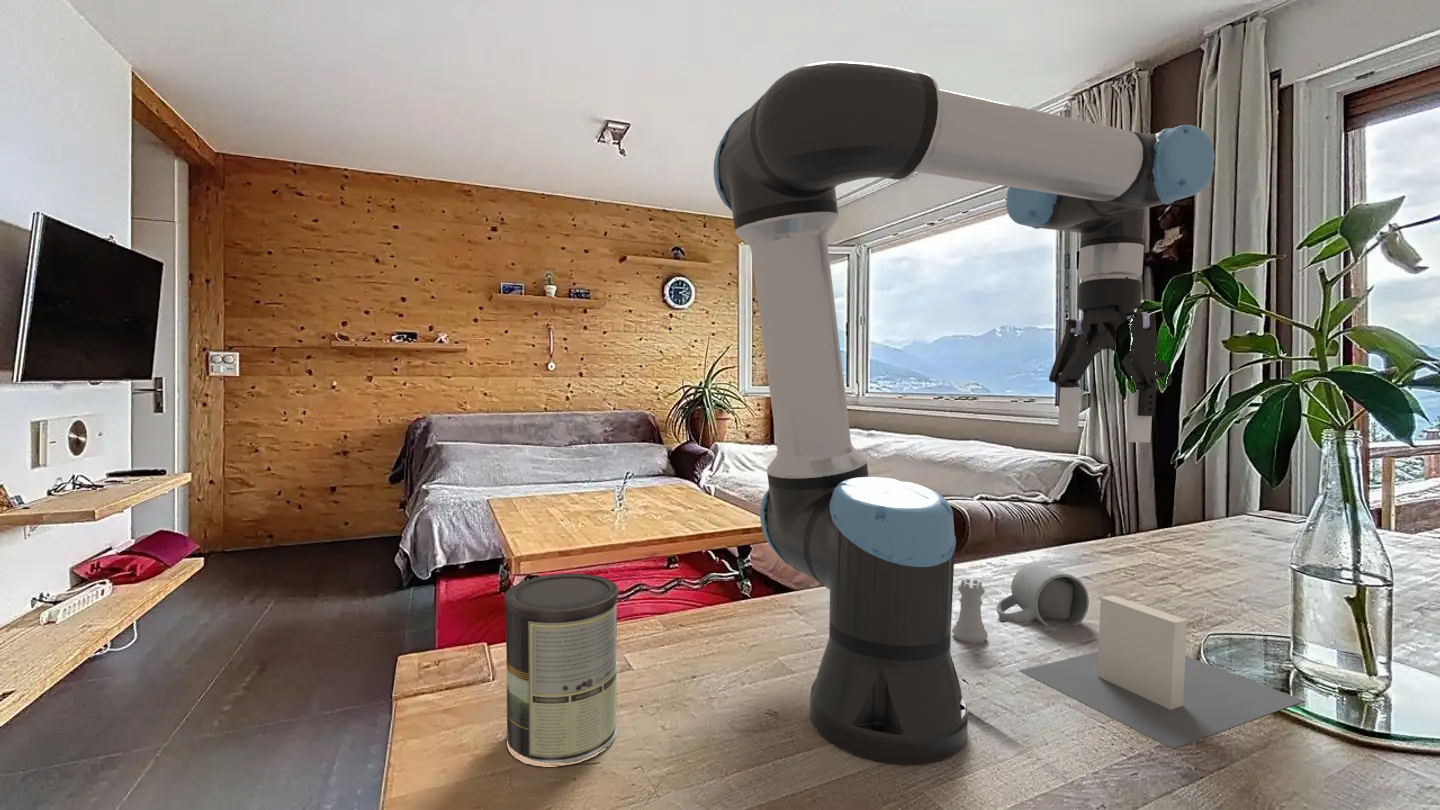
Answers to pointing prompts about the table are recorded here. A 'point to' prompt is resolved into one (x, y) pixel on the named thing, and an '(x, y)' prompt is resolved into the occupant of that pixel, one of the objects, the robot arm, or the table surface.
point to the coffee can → (561, 666)
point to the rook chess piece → (970, 614)
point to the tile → (1142, 650)
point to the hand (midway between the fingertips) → (1100, 436)
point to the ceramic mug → (1045, 596)
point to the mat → (1205, 711)
